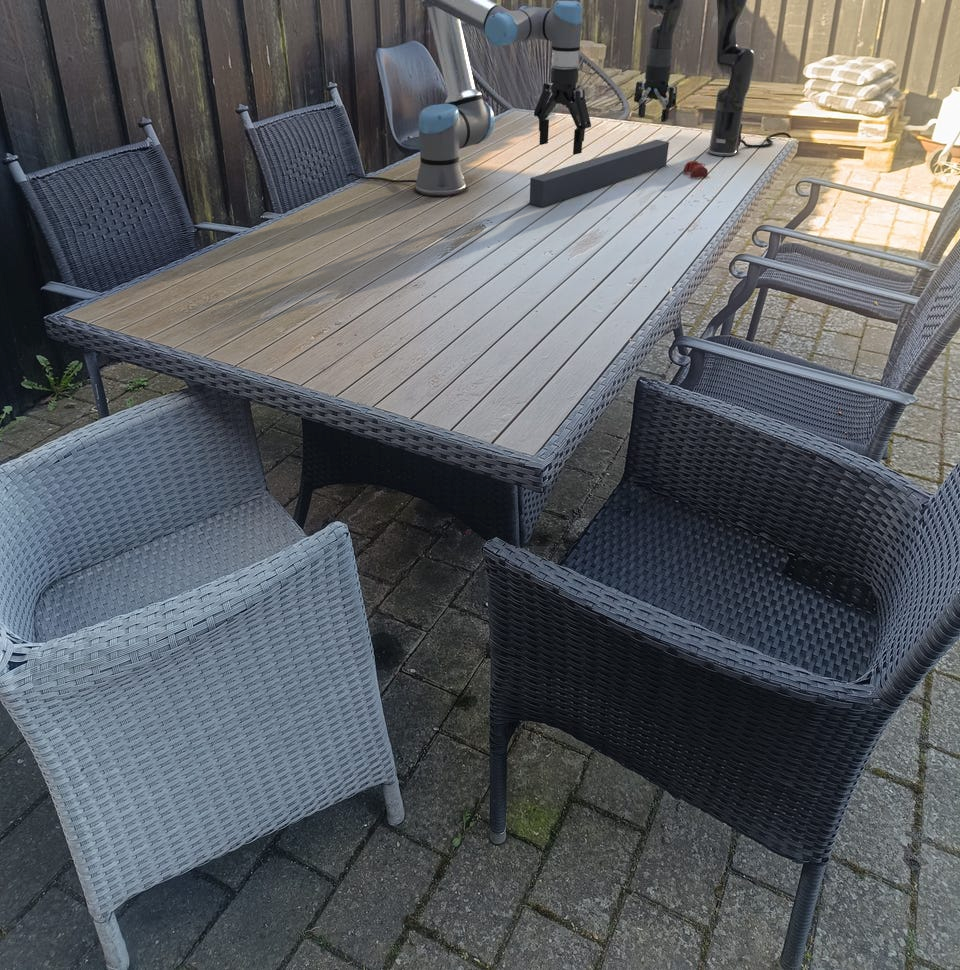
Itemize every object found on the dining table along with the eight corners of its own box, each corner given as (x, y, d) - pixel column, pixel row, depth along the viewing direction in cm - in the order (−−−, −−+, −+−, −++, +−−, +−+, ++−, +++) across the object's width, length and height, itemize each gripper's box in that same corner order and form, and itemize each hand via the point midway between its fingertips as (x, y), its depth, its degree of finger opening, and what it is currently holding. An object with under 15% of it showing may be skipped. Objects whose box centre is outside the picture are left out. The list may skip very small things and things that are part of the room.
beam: (542, 207, 244) (543, 181, 240) (529, 203, 247) (530, 177, 243) (666, 165, 281) (669, 142, 276) (653, 162, 283) (656, 139, 279)
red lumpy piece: (699, 157, 272) (710, 164, 266) (697, 170, 275) (708, 177, 269) (683, 159, 271) (694, 165, 265) (681, 172, 274) (692, 179, 268)
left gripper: (608, 72, 223) (601, 155, 235) (542, 59, 238) (539, 137, 250) (588, 75, 219) (582, 160, 231) (523, 62, 234) (520, 142, 246)
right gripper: (685, 64, 258) (678, 121, 267) (647, 59, 266) (641, 114, 275) (671, 67, 253) (664, 125, 263) (632, 62, 261) (627, 117, 271)
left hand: (560, 148), depth 241 cm, fingers open, 13 cm apart
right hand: (652, 119), depth 269 cm, fingers open, 8 cm apart
